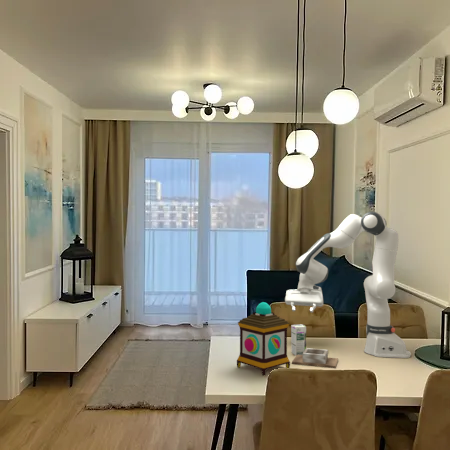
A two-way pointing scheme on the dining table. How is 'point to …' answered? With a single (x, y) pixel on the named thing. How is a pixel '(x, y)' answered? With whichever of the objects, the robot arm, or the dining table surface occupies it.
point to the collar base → (315, 358)
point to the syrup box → (298, 339)
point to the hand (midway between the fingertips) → (302, 311)
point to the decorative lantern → (263, 340)
